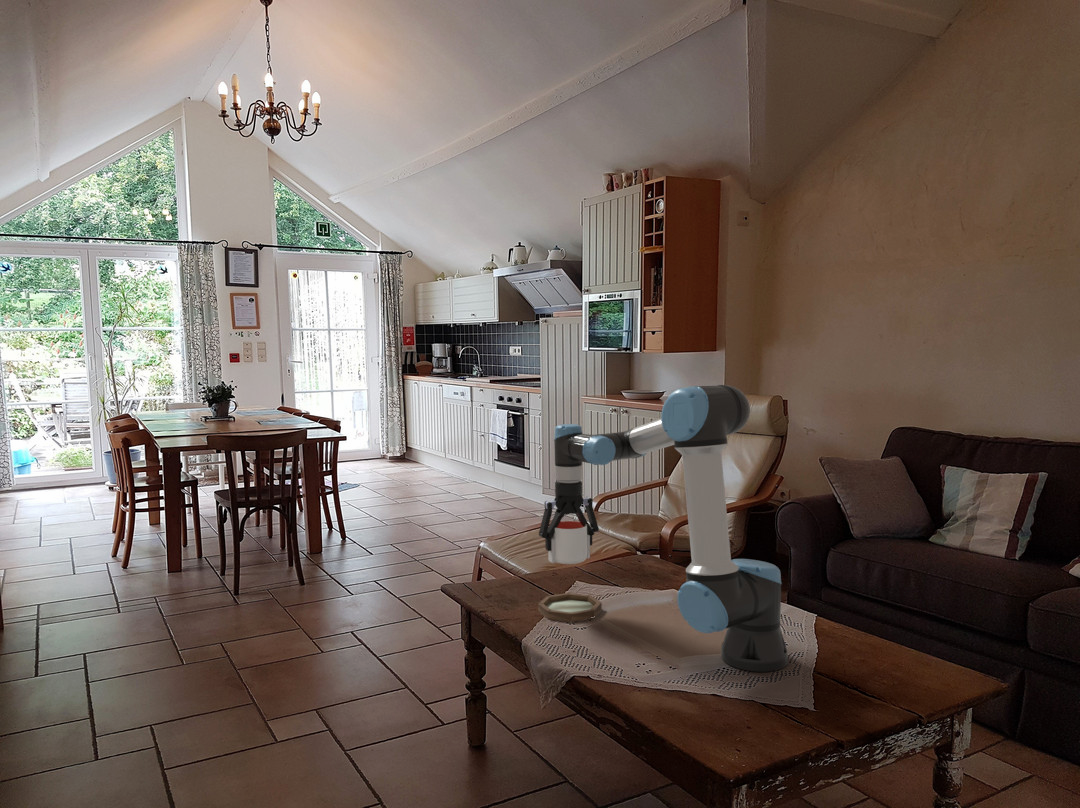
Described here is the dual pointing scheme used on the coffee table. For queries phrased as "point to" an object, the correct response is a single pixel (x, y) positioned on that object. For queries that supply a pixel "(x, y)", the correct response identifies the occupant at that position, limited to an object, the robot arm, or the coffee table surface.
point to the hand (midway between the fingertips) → (569, 559)
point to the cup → (570, 542)
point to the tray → (569, 607)
